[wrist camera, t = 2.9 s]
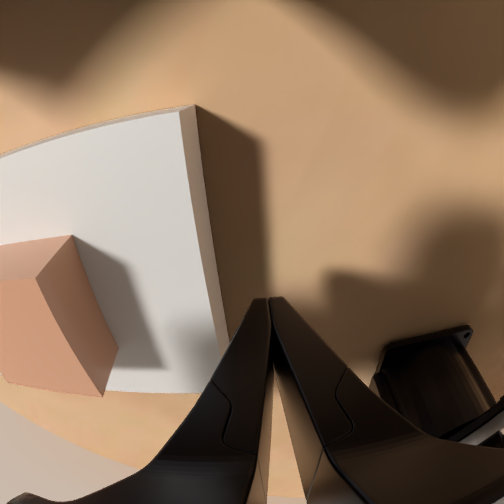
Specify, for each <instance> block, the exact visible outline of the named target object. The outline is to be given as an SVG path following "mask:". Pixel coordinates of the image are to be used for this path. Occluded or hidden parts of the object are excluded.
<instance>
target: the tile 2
mask: <svg viewBox="0 0 504 504" xmlns="http://www.w3.org/2000/svg"><path fill="white" fill-rule="evenodd" d="M118 349H119V348H118V346H117V344H116V342H115V340H114V338H113V336H112V334H111V331H110V329H109V327H108V325H107V323H106V321H105V318H104V316H103V314H102V312H101V309H100V307H99V305H98V302H97V300H96V297H95V295H94V293H93V290H92V288H91V285H90V283H89V280H88V278H87V275H86V272H85V270H84V267H83V264H82V262H81V259H80V256H79V253H78V250H77V248H76V245H75V242H74V239H73V236H72V235H65V236H58V237H51V238H44V239H38V240H31V241H24V242H18V243H12V244H5V245H0V373H1V374H2V376H3V377H4V378H5V379H6V381H7V382H8V383H13V384H17V385H22V386H27V387H33V388H38V389H44V390H50V391H56V392H63V393H70V394H78V395H86V396H95V397H103V395H104V392H105V389H106V386H107V382H108V379H109V376H110V373H111V370H112V367H113V364H114V361H115V358H116V355H117V352H118Z"/></svg>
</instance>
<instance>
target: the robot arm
mask: <svg viewBox="0 0 504 504" xmlns="http://www.w3.org/2000/svg"><path fill="white" fill-rule="evenodd" d="M472 333H473V330H472V328H471V327H470V326H469V325H465V326H461V327H458V328H454V329H450V330H446V331H441V332H437V333H433V334H429V335H424V336H420V337H415V338H410V339H405V340H401V341H395V342H391V343H389V344H387V345H386V346H385V347H384V348H383V350H382V353H381V356H380V359H379V363H378V366H377V369H376V372H375V374H374V375H373V377H372V380H371V383H370V385H369V388H368V387H367V386H366V385H365V384H364V383H363V382H362V381H361V380H360V379H359V378H358V377H357V376H356V375H355V373H354V372H353V371H352V370H351V369H350V368H347V365H346V364H345V363H344V362H343V361H342V360H341V359H340V357H339V356H338V355H337V354H336V353H335V352H334V351H333V350H332V349H331V348H330V347H329V346H328V345H327V343H326V342H325V341H324V340H323V339H322V338H321V337H320V336H319V335H318V334H317V333H316V332H315V331H314V329H313V328H312V327H311V326H310V325H309V324H308V323H307V322H306V321H305V320H304V319H303V318H302V317H301V315H300V314H299V313H298V312H297V311H296V310H295V309H294V308H293V307H292V306H291V305H290V304H289V302H288V301H287V300H286V299H285V298H284V297H282V296H279V297H270V298H269V301H268V299H267V298H256V299H254V300H253V301H252V303H251V305H250V306H249V308H248V310H247V312H246V314H245V316H244V318H243V320H242V321H241V323H240V325H239V327H238V329H237V331H236V333H235V334H234V336H233V338H232V340H231V342H230V344H229V345H228V347H227V349H226V351H225V353H224V355H223V357H222V358H221V360H220V362H219V364H218V366H217V367H216V369H215V371H214V373H213V375H212V377H211V378H210V381H209V382H208V384H207V385H206V387H205V389H204V391H203V392H202V394H201V396H200V397H199V399H198V401H197V402H196V404H195V406H194V407H193V408H192V410H191V411H190V413H189V414H188V415H187V417H186V418H185V420H184V421H183V422H182V424H181V425H180V426H179V427H178V429H177V430H176V431H175V433H174V434H173V435H172V436H171V438H170V439H169V440H168V441H167V443H166V444H165V445H164V446H163V448H162V449H161V450H160V451H159V453H158V454H157V455H156V456H155V457H154V459H153V460H152V461H151V462H150V463H149V464H148V465H146V466H145V467H144V468H143V469H141V470H140V471H138V472H137V473H135V474H133V475H131V476H129V477H127V478H125V479H123V480H120V481H118V482H116V483H114V484H112V485H110V486H107V487H105V488H103V489H101V490H99V491H96V492H94V493H92V494H89V495H87V496H84V497H82V498H79V499H76V500H73V501H66V502H55V501H51V500H47V499H44V498H42V497H40V496H37V495H34V494H31V493H23V494H21V495H19V496H17V497H15V498H13V499H12V500H10V501H9V502H8V503H7V504H267V491H268V476H269V461H270V445H271V427H272V408H273V387H274V369H275V375H276V379H277V383H278V388H279V392H280V396H281V400H282V404H283V408H284V412H285V416H286V421H287V425H288V429H289V433H290V437H291V441H292V445H293V449H294V453H295V457H296V461H297V465H298V469H299V473H300V478H301V482H302V486H303V490H304V494H305V498H306V500H307V504H504V434H502V432H501V430H502V429H503V428H504V396H502V397H501V398H500V401H498V402H497V403H496V401H495V399H494V397H493V395H492V394H491V392H490V390H489V388H488V386H487V385H486V383H485V381H484V379H483V377H482V376H481V374H480V372H479V371H478V369H477V367H476V366H475V364H474V362H473V361H472V359H471V357H470V356H469V354H468V352H467V351H466V349H465V348H466V346H467V344H468V342H469V340H470V338H471V336H472Z"/></svg>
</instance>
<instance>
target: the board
mask: <svg viewBox="0 0 504 504" xmlns="http://www.w3.org/2000/svg"><path fill="white" fill-rule="evenodd" d="M65 235H72V236H73V239H74V242H75V245H76V248H77V250H78V253H79V256H80V259H81V262H82V264H83V267H84V270H85V272H86V275H87V278H88V280H89V283H90V285H91V288H92V290H93V293H94V295H95V297H96V300H97V302H98V305H99V307H100V309H101V312H102V314H103V316H104V318H105V321H106V323H107V325H108V327H109V329H110V331H111V334H112V336H113V338H114V340H115V342H116V344H117V346H118V348H119V349H118V352H117V355H116V358H115V361H114V364H113V367H112V370H111V373H110V376H109V379H108V382H107V386H106V389H105V390H110V391H125V392H145V393H202V392H203V391H204V389H205V387H206V385H207V384H208V382H209V381H210V378H211V377H212V375H213V373H214V371H215V369H216V367H217V366H218V364H219V362H220V360H221V358H222V357H223V355H224V353H225V351H226V349H227V347H228V345H229V344H230V342H229V337H228V331H227V325H226V319H225V314H224V308H223V302H222V296H221V290H220V284H219V278H218V271H217V265H216V259H215V252H214V246H213V239H212V232H211V225H210V219H209V212H208V205H207V197H206V190H205V183H204V175H203V167H202V160H201V152H200V144H199V135H198V127H197V118H196V109H195V104H194V105H187V106H180V107H174V108H168V109H162V110H156V111H151V112H145V113H140V114H135V115H130V116H126V117H121V118H117V119H112V120H108V121H104V122H100V123H96V124H92V125H88V126H85V127H81V128H77V129H74V130H70V131H67V132H63V133H60V134H57V135H54V136H51V137H47V138H44V139H41V140H38V141H35V142H32V143H30V144H27V145H24V146H21V147H18V148H16V149H13V150H10V151H8V152H5V153H3V154H0V245H5V244H12V243H18V242H24V241H31V240H38V239H44V238H51V237H58V236H65ZM0 375H2V374H1V373H0Z"/></svg>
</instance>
